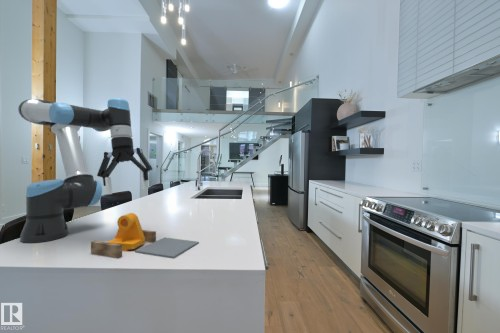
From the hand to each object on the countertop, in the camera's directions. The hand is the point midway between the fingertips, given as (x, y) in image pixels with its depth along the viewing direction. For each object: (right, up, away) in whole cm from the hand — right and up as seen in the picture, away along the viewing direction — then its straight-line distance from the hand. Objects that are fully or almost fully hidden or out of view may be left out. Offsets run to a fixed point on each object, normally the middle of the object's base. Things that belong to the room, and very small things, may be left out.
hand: (127, 191), depth 94 cm
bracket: (+2, -20, -5) cm, 21 cm away
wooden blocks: (+2, -20, -5) cm, 21 cm away
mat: (+18, -20, -4) cm, 27 cm away
